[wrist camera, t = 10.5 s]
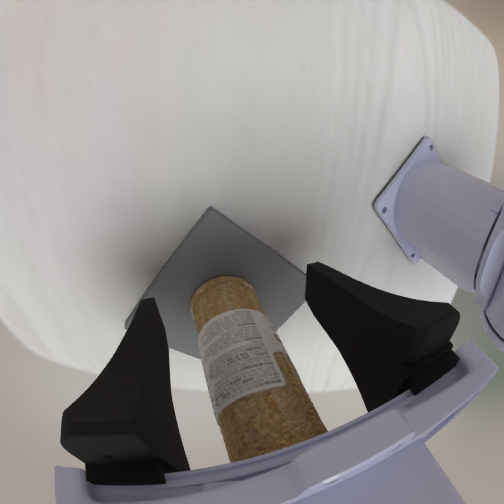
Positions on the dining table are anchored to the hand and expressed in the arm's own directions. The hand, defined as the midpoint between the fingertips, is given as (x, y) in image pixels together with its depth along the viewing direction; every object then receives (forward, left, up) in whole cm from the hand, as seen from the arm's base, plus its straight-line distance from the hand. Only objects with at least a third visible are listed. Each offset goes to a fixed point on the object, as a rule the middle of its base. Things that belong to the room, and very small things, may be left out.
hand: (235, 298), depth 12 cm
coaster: (-3, +3, -5) cm, 7 cm away
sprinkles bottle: (-2, +3, -5) cm, 6 cm away
